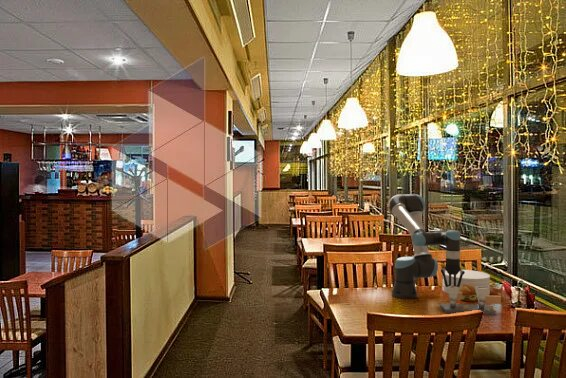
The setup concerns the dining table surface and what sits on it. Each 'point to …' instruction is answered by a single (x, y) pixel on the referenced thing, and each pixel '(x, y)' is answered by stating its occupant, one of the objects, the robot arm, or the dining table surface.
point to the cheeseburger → (468, 293)
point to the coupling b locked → (487, 296)
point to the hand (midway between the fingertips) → (452, 299)
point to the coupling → (454, 293)
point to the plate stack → (470, 280)
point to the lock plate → (467, 307)
